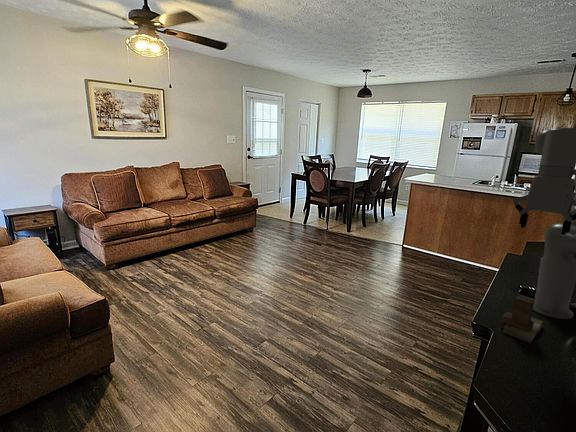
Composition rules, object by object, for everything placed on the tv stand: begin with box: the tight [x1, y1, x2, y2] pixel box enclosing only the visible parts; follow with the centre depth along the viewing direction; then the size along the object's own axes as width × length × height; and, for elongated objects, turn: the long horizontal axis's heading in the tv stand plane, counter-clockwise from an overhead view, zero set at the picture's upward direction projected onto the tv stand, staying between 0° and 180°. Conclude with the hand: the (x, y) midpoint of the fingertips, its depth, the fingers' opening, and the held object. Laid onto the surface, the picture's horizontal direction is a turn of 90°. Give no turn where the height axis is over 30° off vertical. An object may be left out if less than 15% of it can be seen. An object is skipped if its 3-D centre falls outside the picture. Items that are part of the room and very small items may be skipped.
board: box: [502, 316, 544, 344], centre depth 100 cm, size 14×7×2 cm, turn 130°
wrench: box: [536, 256, 544, 285], centre depth 137 cm, size 8×2×30 cm
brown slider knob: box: [500, 293, 535, 332], centre depth 97 cm, size 4×7×11 cm, turn 40°
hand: (542, 230), depth 94 cm, fingers open, 9 cm apart
